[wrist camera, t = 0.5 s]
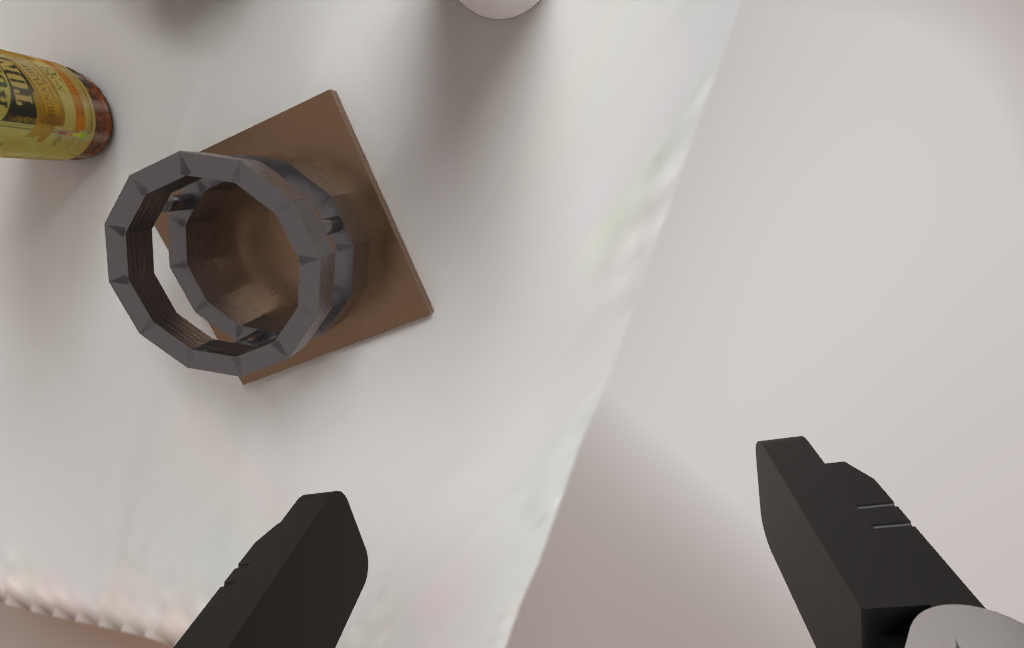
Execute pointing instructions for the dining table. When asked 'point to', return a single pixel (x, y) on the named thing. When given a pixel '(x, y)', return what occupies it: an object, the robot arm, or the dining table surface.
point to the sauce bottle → (49, 111)
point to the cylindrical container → (499, 7)
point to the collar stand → (265, 246)
